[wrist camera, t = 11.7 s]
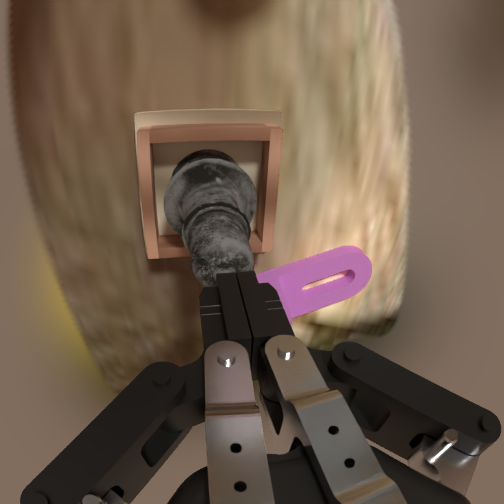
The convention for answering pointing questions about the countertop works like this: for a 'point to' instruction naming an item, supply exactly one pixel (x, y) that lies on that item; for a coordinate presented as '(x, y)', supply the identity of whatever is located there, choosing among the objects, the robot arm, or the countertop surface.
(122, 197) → the countertop surface
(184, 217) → the salt shaker
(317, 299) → the bracket
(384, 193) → the countertop surface
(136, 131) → the shaker holder
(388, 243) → the countertop surface
